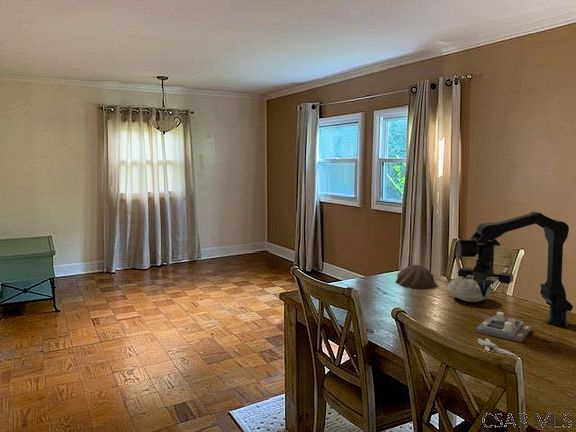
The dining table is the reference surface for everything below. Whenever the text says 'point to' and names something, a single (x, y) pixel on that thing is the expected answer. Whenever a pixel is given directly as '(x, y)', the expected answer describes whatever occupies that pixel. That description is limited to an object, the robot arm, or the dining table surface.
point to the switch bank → (496, 329)
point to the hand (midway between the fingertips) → (484, 296)
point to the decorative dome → (415, 277)
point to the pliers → (493, 346)
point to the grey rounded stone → (466, 289)
